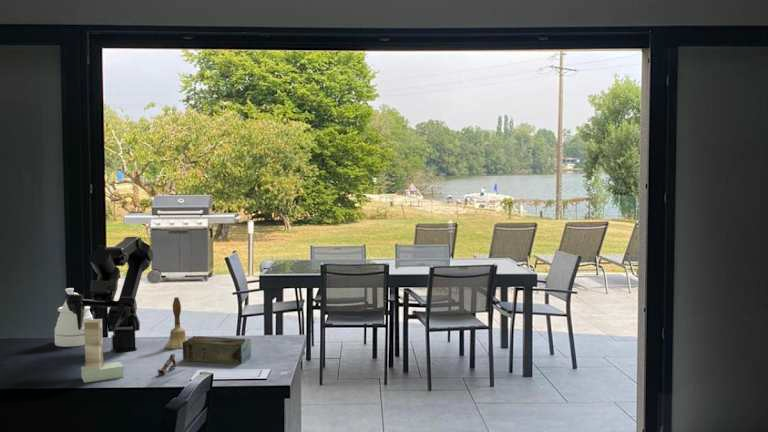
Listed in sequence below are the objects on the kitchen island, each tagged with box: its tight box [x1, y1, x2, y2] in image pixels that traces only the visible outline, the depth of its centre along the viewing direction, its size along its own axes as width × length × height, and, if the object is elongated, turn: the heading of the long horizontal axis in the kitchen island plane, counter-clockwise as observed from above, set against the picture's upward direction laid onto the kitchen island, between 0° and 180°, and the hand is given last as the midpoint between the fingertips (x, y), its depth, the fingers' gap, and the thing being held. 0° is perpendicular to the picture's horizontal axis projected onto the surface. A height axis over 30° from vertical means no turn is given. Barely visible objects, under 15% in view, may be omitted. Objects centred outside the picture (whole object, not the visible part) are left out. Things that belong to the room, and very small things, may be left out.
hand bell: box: [164, 296, 188, 350], centre depth 227 cm, size 8×8×16 cm
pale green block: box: [80, 361, 125, 383], centre depth 192 cm, size 10×6×3 cm, turn 120°
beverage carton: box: [182, 335, 252, 365], centre depth 210 cm, size 8×19×7 cm, turn 79°
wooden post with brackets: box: [157, 353, 178, 376], centre depth 197 cm, size 2×8×4 cm, turn 167°
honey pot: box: [54, 287, 94, 348], centre depth 234 cm, size 13×13×18 cm
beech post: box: [84, 318, 104, 370], centre depth 190 cm, size 4×4×13 cm
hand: (96, 329), depth 198 cm, fingers open, 9 cm apart
